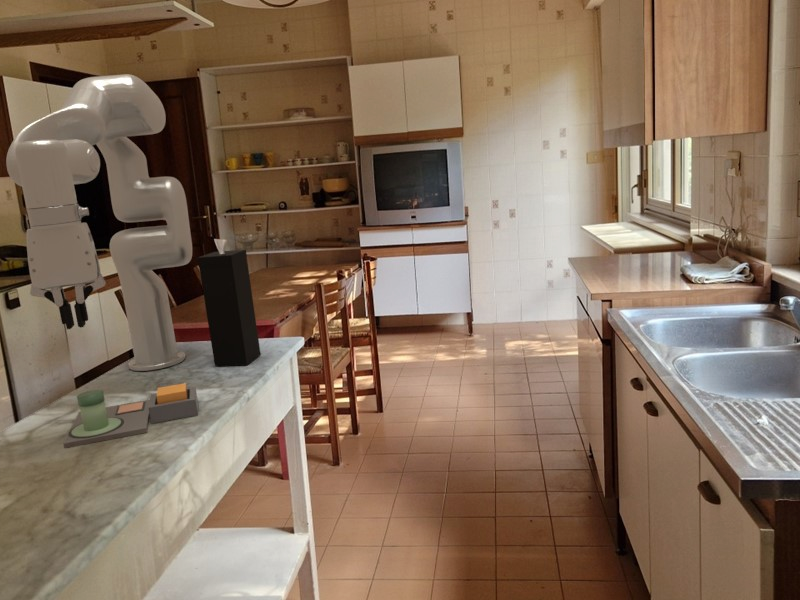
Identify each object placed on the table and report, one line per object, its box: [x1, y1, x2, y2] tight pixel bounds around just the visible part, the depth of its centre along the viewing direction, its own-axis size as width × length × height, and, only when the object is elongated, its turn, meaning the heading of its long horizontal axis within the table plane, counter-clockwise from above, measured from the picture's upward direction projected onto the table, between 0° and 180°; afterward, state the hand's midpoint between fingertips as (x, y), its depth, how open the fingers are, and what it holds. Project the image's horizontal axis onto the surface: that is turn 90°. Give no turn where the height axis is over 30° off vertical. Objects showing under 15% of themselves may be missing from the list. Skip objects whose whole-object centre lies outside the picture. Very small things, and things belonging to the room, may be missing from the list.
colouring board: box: [63, 399, 150, 449], centre depth 123 cm, size 16×13×1 cm
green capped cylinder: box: [76, 389, 109, 431], centre depth 119 cm, size 4×4×6 cm
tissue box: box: [197, 238, 261, 367], centre depth 153 cm, size 8×8×28 cm
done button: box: [156, 382, 188, 404], centre depth 125 cm, size 5×5×2 cm
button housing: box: [148, 386, 199, 425], centre depth 125 cm, size 8×8×3 cm
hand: (76, 326), depth 115 cm, fingers closed
